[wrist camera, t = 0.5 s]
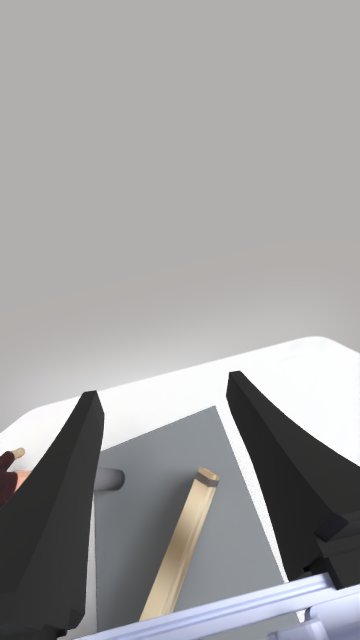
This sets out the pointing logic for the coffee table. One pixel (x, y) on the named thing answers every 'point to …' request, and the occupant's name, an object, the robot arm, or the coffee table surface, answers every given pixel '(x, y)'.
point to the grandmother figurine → (10, 475)
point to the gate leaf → (181, 546)
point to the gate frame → (161, 520)
